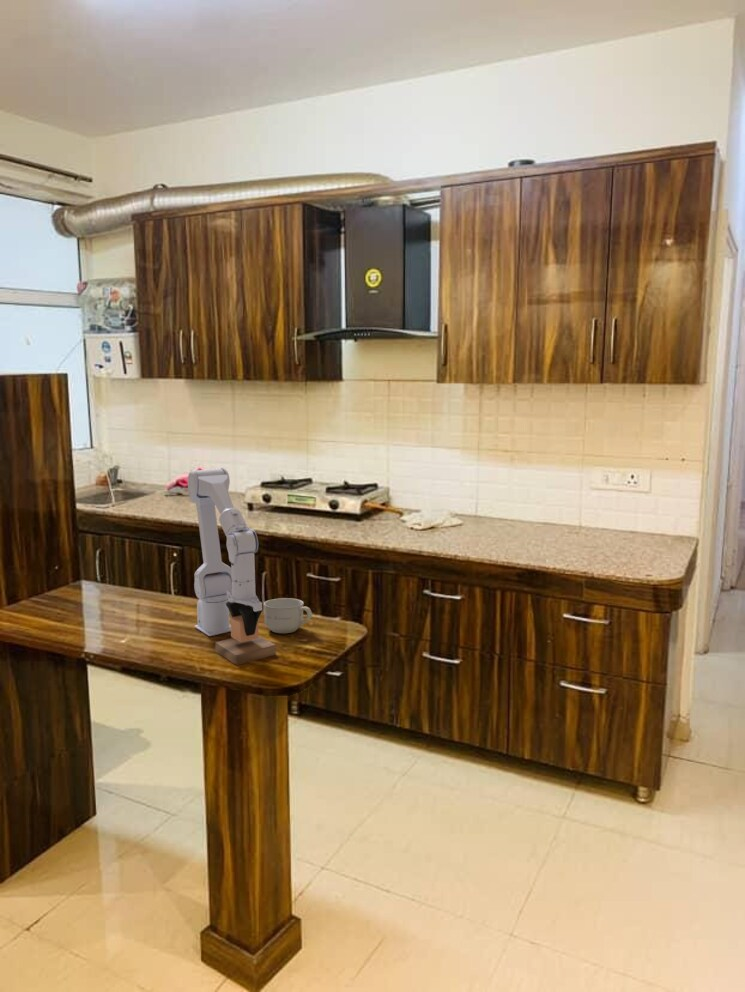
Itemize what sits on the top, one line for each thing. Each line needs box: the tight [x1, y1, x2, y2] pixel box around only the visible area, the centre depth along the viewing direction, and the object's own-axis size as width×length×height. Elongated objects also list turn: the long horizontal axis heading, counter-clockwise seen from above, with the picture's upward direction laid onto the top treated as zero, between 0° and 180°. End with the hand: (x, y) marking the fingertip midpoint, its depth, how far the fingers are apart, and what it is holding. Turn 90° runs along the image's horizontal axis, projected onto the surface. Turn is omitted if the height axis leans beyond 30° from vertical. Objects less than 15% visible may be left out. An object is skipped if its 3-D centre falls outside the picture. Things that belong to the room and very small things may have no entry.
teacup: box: [263, 597, 313, 634], centre depth 205 cm, size 14×11×8 cm
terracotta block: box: [229, 615, 260, 642], centre depth 188 cm, size 5×5×5 cm
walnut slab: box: [214, 635, 277, 666], centre depth 190 cm, size 11×11×3 cm
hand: (244, 631), depth 189 cm, fingers closed on terracotta block, 5 cm apart
